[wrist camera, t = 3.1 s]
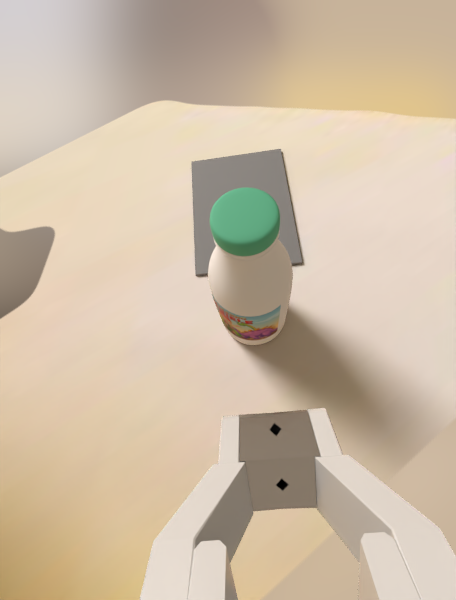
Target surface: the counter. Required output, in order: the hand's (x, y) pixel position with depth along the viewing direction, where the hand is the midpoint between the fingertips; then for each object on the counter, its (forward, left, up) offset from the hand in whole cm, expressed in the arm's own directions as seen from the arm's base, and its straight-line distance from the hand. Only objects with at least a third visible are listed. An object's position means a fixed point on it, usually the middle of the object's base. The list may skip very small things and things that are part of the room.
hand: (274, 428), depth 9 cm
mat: (-8, +28, -26) cm, 39 cm away
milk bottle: (-3, +12, -26) cm, 29 cm away
